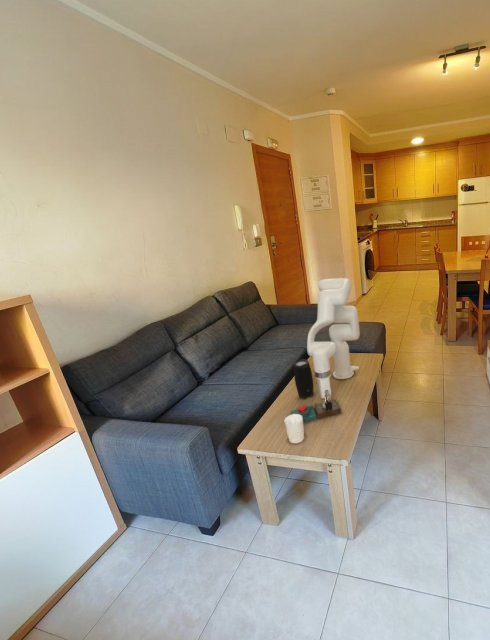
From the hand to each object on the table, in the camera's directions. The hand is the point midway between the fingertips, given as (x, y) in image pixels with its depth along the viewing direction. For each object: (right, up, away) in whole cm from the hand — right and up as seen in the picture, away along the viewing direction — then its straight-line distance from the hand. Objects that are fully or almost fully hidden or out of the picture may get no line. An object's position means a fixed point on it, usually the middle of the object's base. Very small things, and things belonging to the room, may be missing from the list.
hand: (326, 404), depth 166 cm
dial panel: (0, -4, +1) cm, 4 cm away
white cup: (-12, -11, -16) cm, 23 cm away
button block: (-11, -6, -1) cm, 13 cm away
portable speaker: (-12, 0, +18) cm, 22 cm away
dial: (0, -1, 0) cm, 1 cm away
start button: (-11, -2, -3) cm, 12 cm away
